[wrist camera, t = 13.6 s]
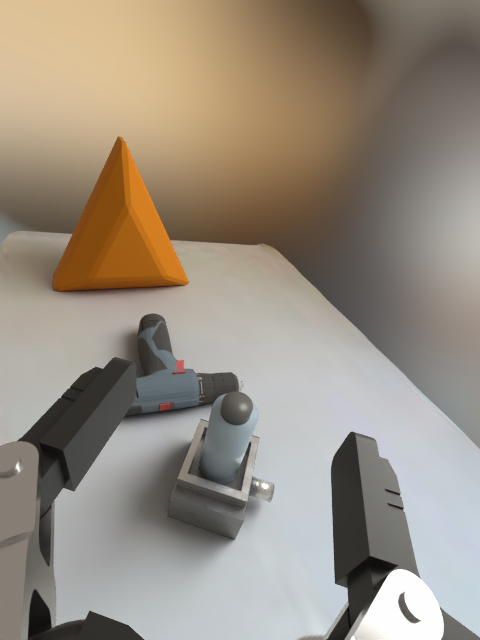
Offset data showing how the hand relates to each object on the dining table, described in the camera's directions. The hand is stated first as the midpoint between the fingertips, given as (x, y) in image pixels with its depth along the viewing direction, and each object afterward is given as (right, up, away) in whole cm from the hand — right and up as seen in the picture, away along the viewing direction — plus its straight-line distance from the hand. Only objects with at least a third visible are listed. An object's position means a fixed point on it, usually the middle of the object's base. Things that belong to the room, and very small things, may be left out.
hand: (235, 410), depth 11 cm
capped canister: (-2, -14, +24) cm, 28 cm away
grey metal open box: (-2, -18, +27) cm, 32 cm away
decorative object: (-28, +12, +62) cm, 69 cm away
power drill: (-11, -6, +42) cm, 44 cm away
